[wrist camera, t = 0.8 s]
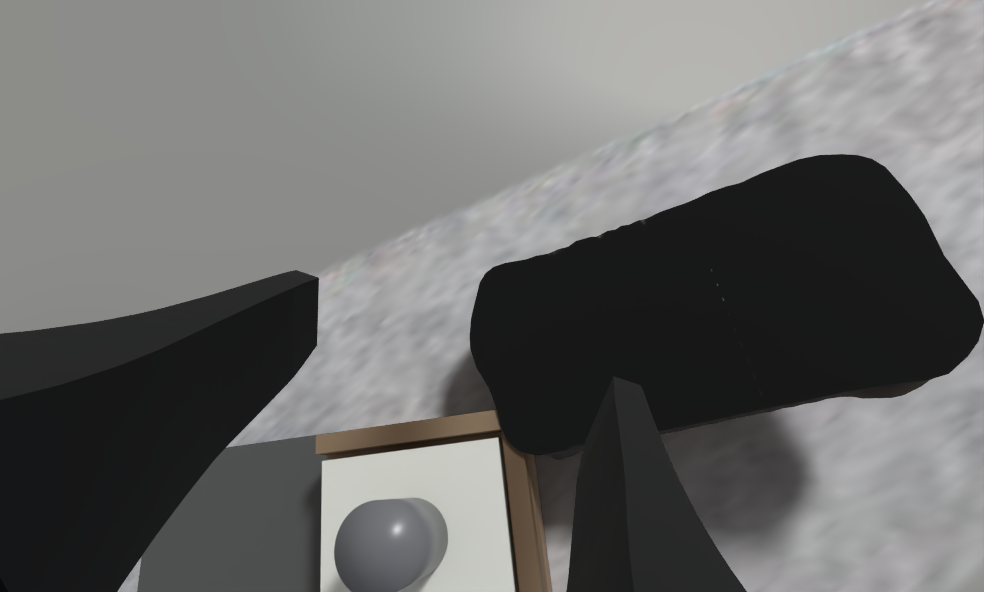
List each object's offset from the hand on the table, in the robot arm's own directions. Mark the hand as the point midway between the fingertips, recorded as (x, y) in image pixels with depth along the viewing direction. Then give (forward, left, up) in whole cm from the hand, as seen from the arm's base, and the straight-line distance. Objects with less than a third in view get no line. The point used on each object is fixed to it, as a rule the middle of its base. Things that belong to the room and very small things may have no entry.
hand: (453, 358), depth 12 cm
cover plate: (-6, +2, -11) cm, 13 cm away
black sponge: (+6, -5, -11) cm, 14 cm away
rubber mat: (-11, +11, -13) cm, 21 cm away
